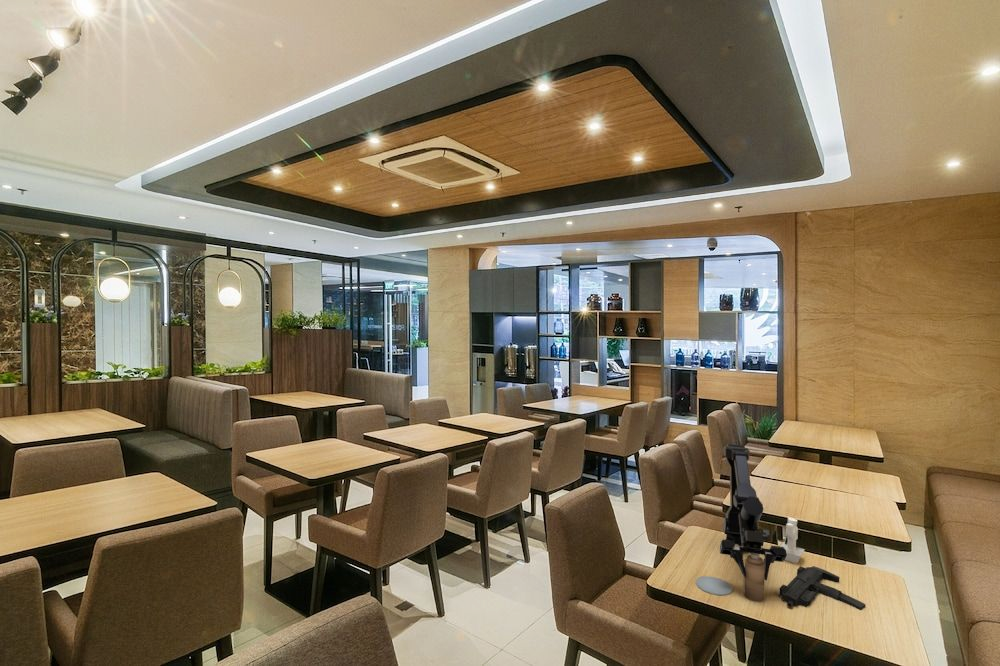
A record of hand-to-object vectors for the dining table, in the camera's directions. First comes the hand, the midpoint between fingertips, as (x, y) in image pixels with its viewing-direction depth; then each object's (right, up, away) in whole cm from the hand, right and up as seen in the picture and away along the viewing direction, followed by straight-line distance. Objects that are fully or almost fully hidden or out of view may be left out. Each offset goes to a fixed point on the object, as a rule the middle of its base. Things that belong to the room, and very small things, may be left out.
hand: (755, 578), depth 156 cm
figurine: (+27, -7, +27) cm, 38 cm away
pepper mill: (0, -7, +2) cm, 7 cm away
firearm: (+23, -8, +2) cm, 24 cm away
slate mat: (-10, -6, +8) cm, 14 cm away
